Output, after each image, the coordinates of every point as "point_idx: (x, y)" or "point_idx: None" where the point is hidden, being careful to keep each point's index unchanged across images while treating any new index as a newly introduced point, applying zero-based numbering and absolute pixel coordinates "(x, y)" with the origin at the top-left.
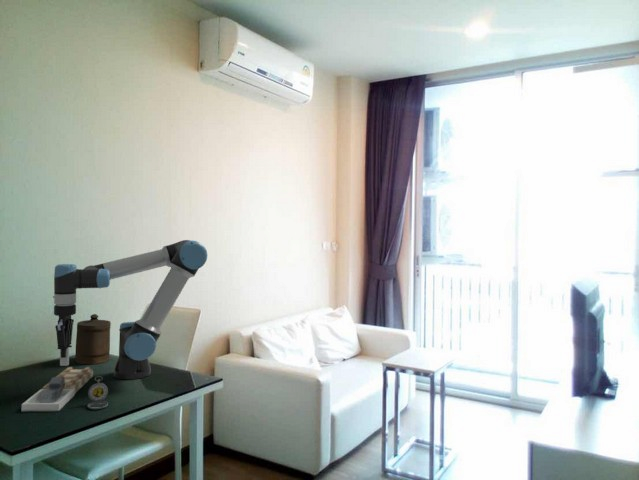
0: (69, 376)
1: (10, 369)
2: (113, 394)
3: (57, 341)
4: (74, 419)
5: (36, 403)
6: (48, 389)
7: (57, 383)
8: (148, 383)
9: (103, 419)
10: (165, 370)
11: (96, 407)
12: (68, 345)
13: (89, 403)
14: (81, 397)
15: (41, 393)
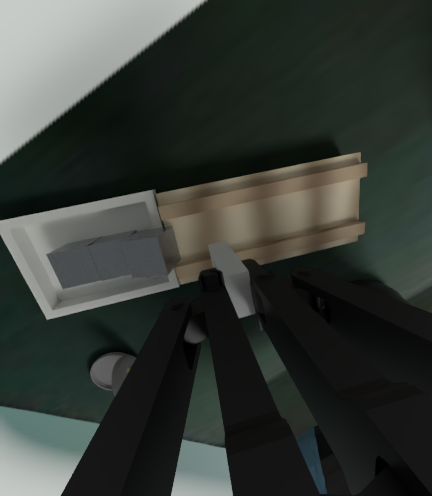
0: (281, 212)
1: None
2: (205, 353)
3: (139, 354)
4: (24, 367)
5: (22, 261)
6: (99, 253)
7: (129, 269)
8: (288, 378)
9: (51, 413)
10: None
11: (94, 381)
12: (260, 320)
13: (114, 354)
14: (169, 301)
15: (53, 256)
